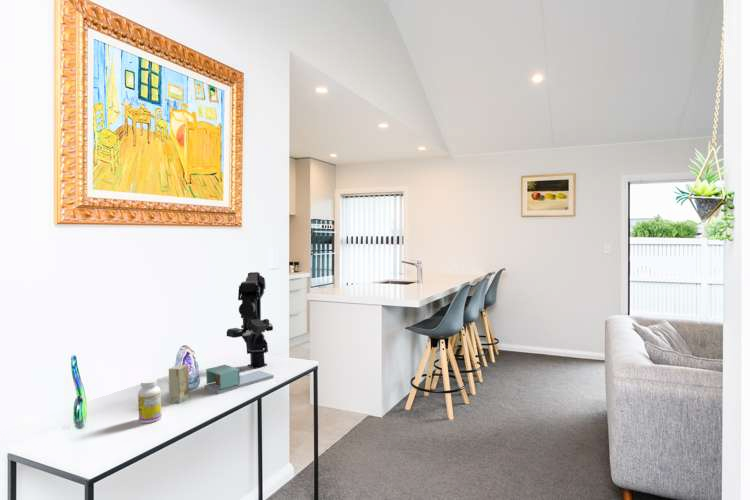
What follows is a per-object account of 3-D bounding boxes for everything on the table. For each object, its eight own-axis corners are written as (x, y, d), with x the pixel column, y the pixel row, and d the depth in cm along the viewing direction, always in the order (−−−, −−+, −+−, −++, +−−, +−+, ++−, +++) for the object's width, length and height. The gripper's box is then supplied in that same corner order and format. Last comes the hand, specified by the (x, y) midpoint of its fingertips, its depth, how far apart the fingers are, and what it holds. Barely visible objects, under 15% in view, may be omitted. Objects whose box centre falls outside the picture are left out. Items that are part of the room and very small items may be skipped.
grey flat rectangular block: (204, 388, 184) (204, 381, 184) (259, 373, 203) (258, 367, 203) (218, 393, 177) (218, 386, 177) (273, 377, 196) (273, 371, 196)
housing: (206, 383, 185) (206, 369, 185) (225, 378, 191) (224, 364, 191) (221, 389, 178) (220, 373, 178) (239, 383, 184) (239, 369, 184)
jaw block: (215, 384, 184) (215, 371, 184) (224, 382, 187) (224, 369, 187) (221, 386, 182) (220, 373, 182) (230, 384, 185) (229, 371, 185)
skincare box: (180, 403, 168) (178, 369, 168) (169, 402, 169) (167, 369, 168) (190, 397, 175) (188, 364, 174) (179, 396, 175) (178, 364, 175)
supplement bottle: (140, 418, 155) (138, 379, 155) (162, 414, 157) (160, 376, 157) (137, 425, 149) (136, 385, 148) (160, 422, 151) (159, 382, 151)
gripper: (240, 318, 181) (242, 358, 182) (280, 311, 195) (281, 349, 196) (225, 315, 189) (226, 354, 189) (264, 309, 202) (265, 345, 203)
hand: (251, 350), depth 194 cm, fingers closed
